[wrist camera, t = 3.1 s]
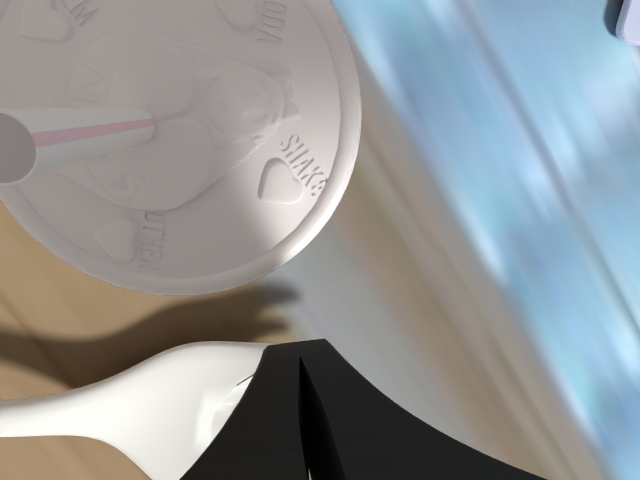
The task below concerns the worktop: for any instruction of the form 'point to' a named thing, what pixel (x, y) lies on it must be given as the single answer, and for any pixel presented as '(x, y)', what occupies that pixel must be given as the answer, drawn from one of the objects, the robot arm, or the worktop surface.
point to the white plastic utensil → (148, 405)
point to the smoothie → (175, 134)
